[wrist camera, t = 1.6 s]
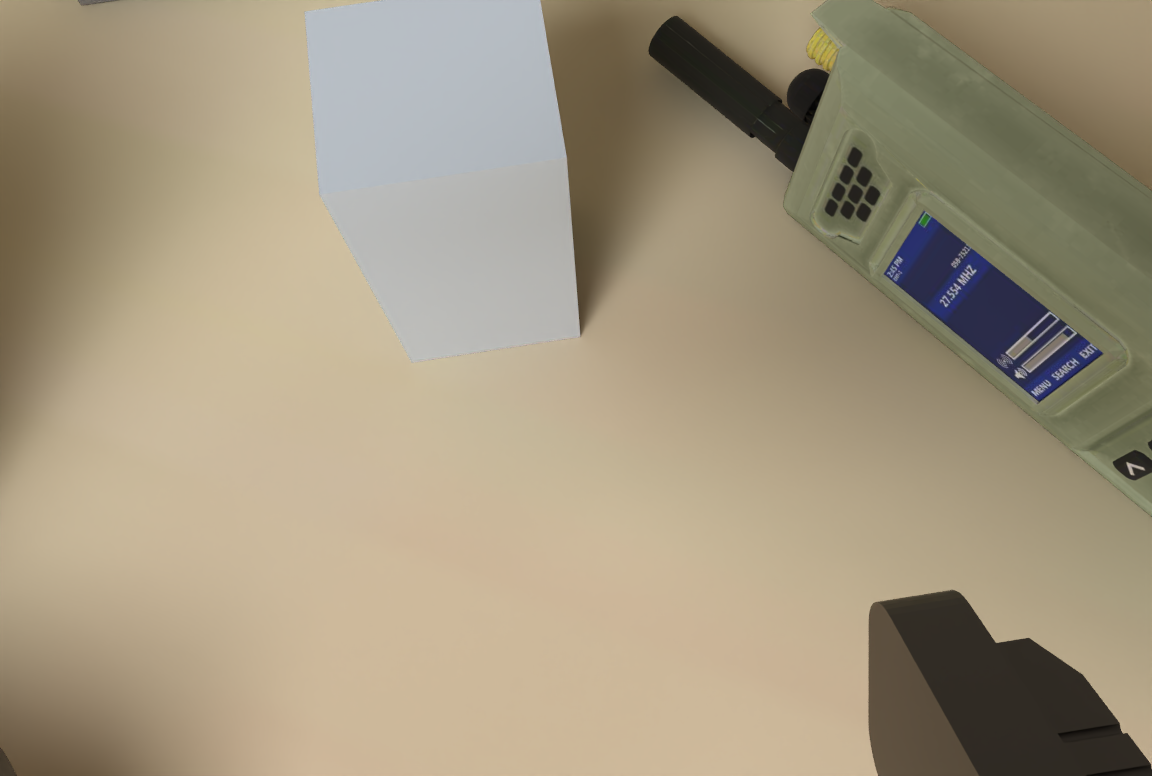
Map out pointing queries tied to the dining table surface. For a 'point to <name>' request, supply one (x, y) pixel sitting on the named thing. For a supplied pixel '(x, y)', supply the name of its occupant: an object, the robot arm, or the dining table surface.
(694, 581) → the dining table surface
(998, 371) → the handheld radio
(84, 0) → the charging dock
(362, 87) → the block
